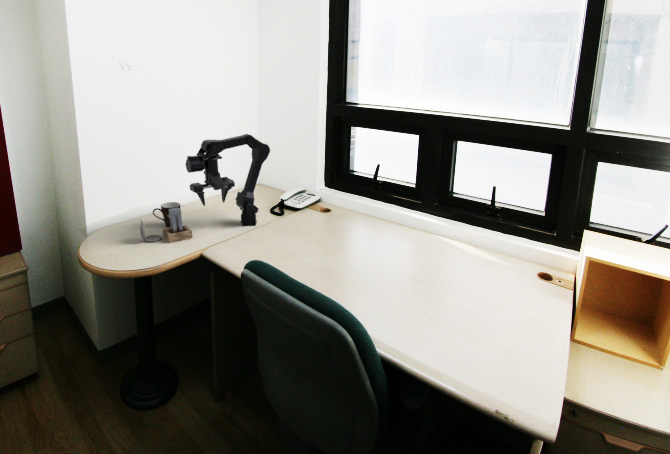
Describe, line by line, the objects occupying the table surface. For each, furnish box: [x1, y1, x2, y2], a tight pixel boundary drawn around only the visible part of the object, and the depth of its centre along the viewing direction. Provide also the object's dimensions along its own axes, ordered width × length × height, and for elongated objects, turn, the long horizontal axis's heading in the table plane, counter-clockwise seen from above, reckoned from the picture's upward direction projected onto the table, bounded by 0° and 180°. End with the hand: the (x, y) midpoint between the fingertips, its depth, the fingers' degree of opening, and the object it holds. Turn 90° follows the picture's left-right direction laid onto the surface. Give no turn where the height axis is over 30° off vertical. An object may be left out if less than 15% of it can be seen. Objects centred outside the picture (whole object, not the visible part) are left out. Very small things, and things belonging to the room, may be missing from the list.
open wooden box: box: [162, 224, 194, 244], centre depth 195 cm, size 10×9×4 cm
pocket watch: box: [139, 218, 162, 243], centre depth 191 cm, size 8×8×10 cm
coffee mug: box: [152, 201, 181, 228], centre depth 209 cm, size 12×9×10 cm
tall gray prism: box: [169, 207, 184, 234], centre depth 193 cm, size 4×4×12 cm
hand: (213, 203), depth 200 cm, fingers open, 9 cm apart
